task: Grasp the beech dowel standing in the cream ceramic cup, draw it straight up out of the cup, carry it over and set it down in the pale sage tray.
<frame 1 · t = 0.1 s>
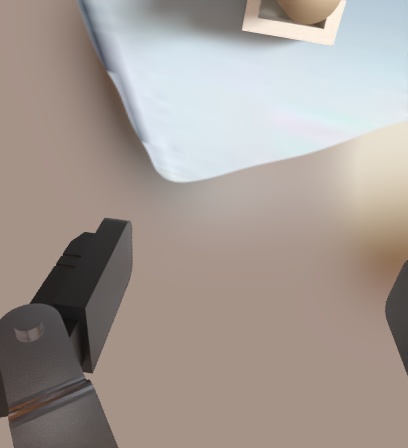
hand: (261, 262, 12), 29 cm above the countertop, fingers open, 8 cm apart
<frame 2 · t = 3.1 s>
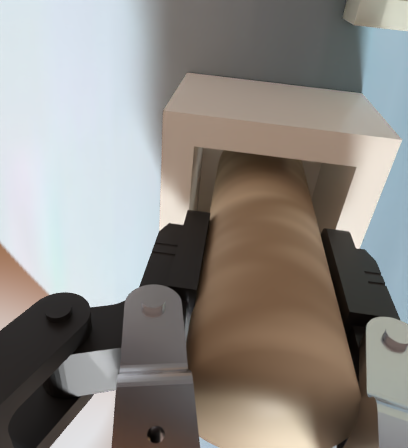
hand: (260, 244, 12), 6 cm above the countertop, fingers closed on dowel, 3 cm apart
dowel: (259, 170, 17), point 1 cm above the countertop, touching gripper, holder cup
holder cup: (259, 163, 18), on the countertop
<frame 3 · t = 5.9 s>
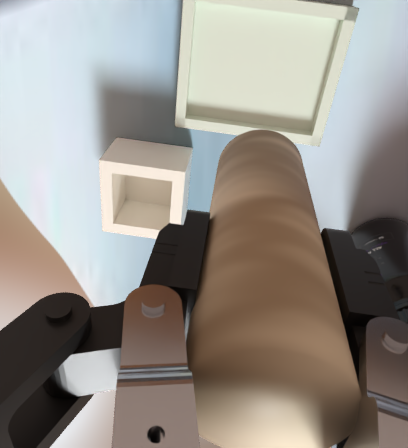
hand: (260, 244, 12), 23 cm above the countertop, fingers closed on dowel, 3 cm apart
supplement bottle: (378, 243, 39), on the countertop
dowel: (259, 169, 17), point 18 cm above the countertop, touching gripper
tray: (257, 67, 31), on the countertop
holder cup: (153, 176, 37), on the countertop
when the fingers open (9 cm above the countertop, at t = 9.0 s): dowel drops 2 cm, resting on tray.
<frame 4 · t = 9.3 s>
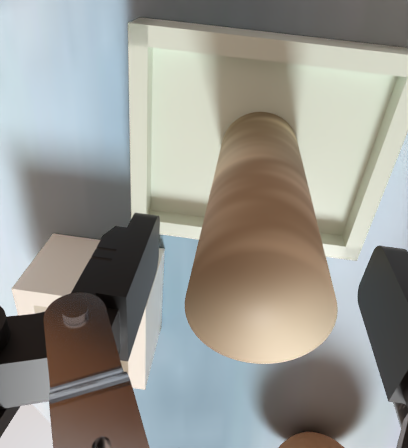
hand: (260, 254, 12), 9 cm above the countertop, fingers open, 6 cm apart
egg: (309, 434, 34), on the countertop
dowel: (259, 149, 19), point 1 cm above the countertop, touching tray
tray: (258, 142, 20), on the countertop
holder cup: (111, 283, 26), on the countertop
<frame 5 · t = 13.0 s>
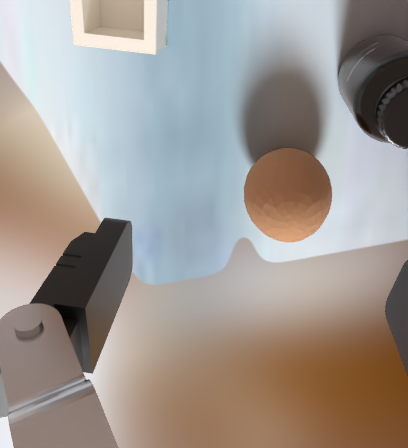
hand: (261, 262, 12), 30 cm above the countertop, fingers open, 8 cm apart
supplement bottle: (373, 74, 36), on the countertop
egg: (283, 169, 43), on the countertop
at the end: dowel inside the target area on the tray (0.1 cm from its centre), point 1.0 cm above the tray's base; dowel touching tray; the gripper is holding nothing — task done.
